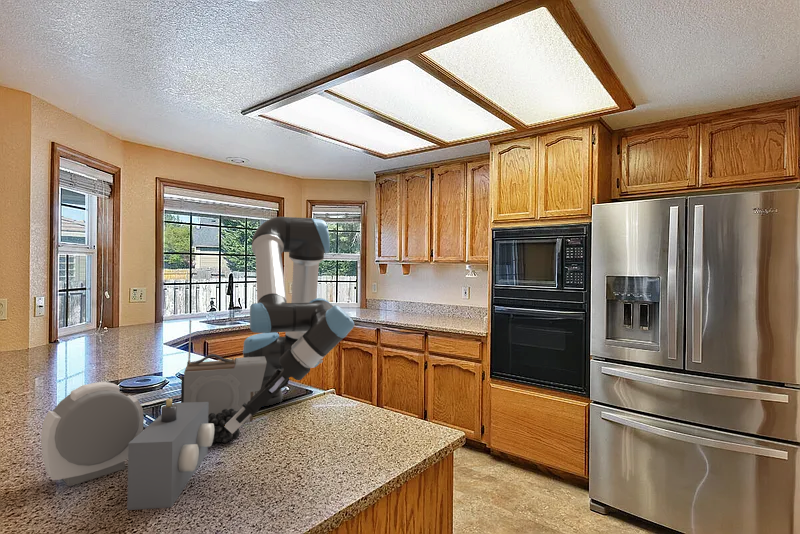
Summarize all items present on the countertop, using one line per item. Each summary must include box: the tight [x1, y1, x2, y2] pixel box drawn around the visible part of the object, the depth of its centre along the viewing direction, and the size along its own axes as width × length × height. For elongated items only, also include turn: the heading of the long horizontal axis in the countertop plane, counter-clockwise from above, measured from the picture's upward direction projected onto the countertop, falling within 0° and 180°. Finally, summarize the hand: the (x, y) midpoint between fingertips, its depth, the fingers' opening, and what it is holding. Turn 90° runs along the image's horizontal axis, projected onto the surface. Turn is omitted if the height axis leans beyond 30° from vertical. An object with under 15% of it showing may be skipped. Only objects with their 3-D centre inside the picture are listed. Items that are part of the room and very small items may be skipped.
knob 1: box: [178, 444, 199, 472], centre depth 89 cm, size 5×7×5 cm
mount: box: [126, 402, 209, 511], centre depth 95 cm, size 24×8×13 cm, turn 9°
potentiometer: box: [160, 398, 177, 423], centre depth 95 cm, size 3×3×5 cm
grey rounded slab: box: [40, 381, 145, 487], centre depth 96 cm, size 18×8×20 cm, turn 141°
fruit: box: [208, 408, 241, 444], centre depth 115 cm, size 9×8×15 cm
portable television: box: [179, 319, 267, 424], centre depth 131 cm, size 12×24×30 cm, turn 112°
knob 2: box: [197, 423, 214, 448], centre depth 101 cm, size 5×7×5 cm
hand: (229, 428), depth 102 cm, fingers closed
